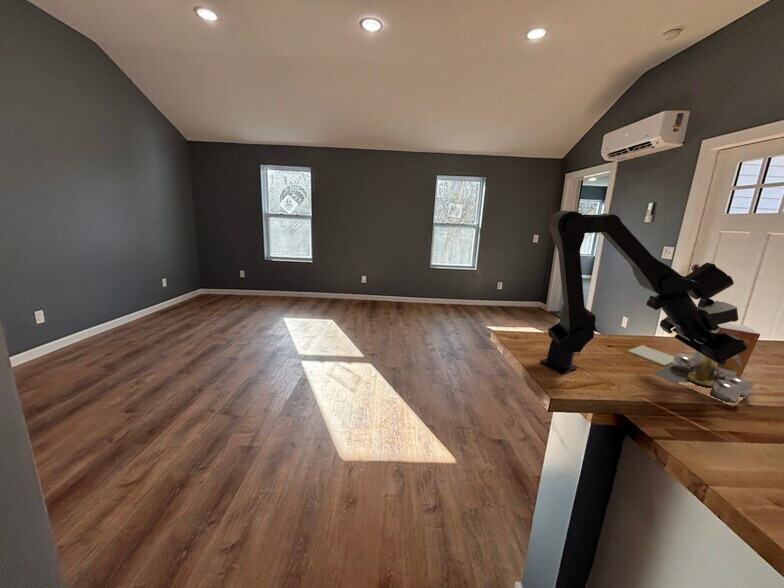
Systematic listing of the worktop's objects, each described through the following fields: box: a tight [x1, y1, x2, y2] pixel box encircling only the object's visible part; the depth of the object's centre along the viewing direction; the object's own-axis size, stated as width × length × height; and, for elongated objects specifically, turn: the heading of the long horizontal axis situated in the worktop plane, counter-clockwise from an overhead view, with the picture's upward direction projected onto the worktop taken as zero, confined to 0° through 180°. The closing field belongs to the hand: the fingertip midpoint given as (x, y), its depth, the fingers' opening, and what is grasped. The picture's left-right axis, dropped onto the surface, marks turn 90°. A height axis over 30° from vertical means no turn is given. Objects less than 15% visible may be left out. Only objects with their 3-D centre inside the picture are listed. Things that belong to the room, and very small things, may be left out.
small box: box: [692, 322, 761, 377], centre depth 85 cm, size 8×6×13 cm
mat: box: [653, 364, 697, 385], centre depth 80 cm, size 15×15×1 cm
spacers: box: [670, 353, 754, 403], centre depth 79 cm, size 15×15×4 cm
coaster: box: [627, 344, 675, 367], centre depth 92 cm, size 9×9×1 cm
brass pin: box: [687, 332, 722, 388], centre depth 77 cm, size 5×5×13 cm
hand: (716, 359), depth 77 cm, fingers open, 4 cm apart
